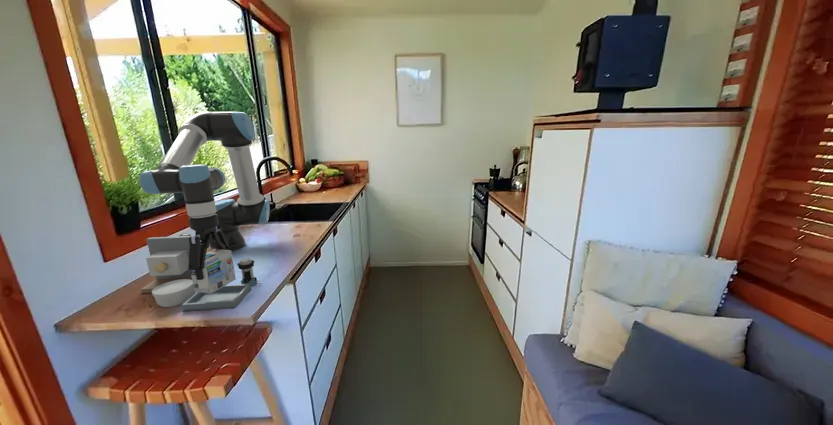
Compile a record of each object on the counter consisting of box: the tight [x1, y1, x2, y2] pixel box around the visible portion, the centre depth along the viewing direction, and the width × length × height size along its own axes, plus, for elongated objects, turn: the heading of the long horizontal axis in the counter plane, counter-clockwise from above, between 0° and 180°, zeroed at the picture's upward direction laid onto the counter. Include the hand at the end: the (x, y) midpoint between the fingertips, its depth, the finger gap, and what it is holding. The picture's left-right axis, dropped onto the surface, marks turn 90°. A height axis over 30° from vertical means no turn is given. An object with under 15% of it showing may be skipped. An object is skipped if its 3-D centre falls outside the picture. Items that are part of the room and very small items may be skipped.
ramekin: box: [151, 279, 194, 308], centre depth 104 cm, size 11×11×5 cm
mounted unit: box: [140, 235, 195, 294], centre depth 113 cm, size 10×16×18 cm, turn 95°
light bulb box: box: [188, 249, 237, 293], centre depth 101 cm, size 11×7×11 cm, turn 169°
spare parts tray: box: [181, 284, 252, 313], centre depth 104 cm, size 12×16×2 cm
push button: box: [236, 257, 262, 288], centre depth 112 cm, size 7×5×10 cm
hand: (215, 279), depth 102 cm, fingers closed on light bulb box, 12 cm apart
